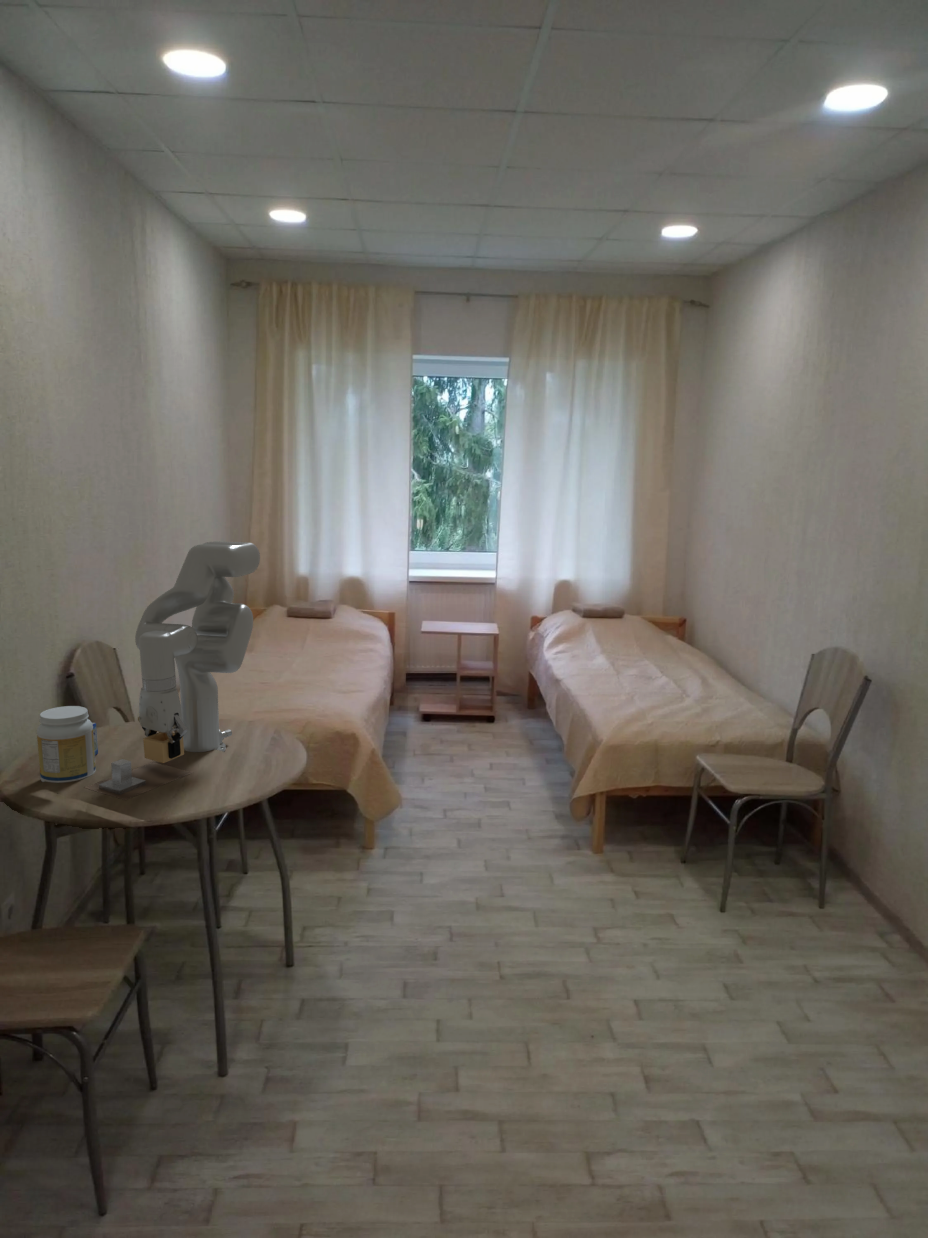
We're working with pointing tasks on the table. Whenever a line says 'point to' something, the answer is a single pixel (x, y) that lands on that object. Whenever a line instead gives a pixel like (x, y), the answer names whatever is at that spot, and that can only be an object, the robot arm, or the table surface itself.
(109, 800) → the table surface
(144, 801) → the table surface
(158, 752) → the collar
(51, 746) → the supplement tub
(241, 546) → the robot arm
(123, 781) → the grey stepped block
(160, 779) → the board
